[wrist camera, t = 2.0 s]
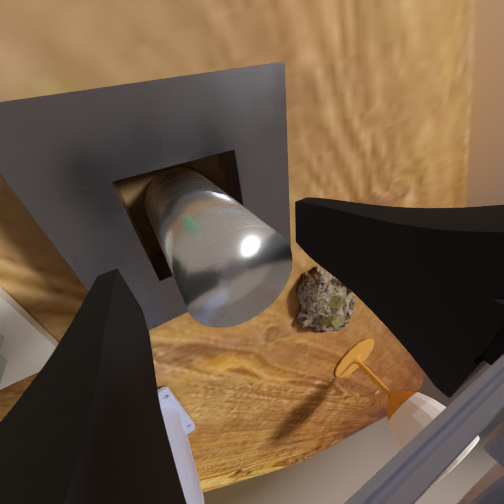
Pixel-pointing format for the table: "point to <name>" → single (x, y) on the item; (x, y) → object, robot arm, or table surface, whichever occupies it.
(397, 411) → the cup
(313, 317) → the mineral rock
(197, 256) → the smooth metal cylinder
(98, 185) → the socket block
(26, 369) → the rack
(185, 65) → the table surface
